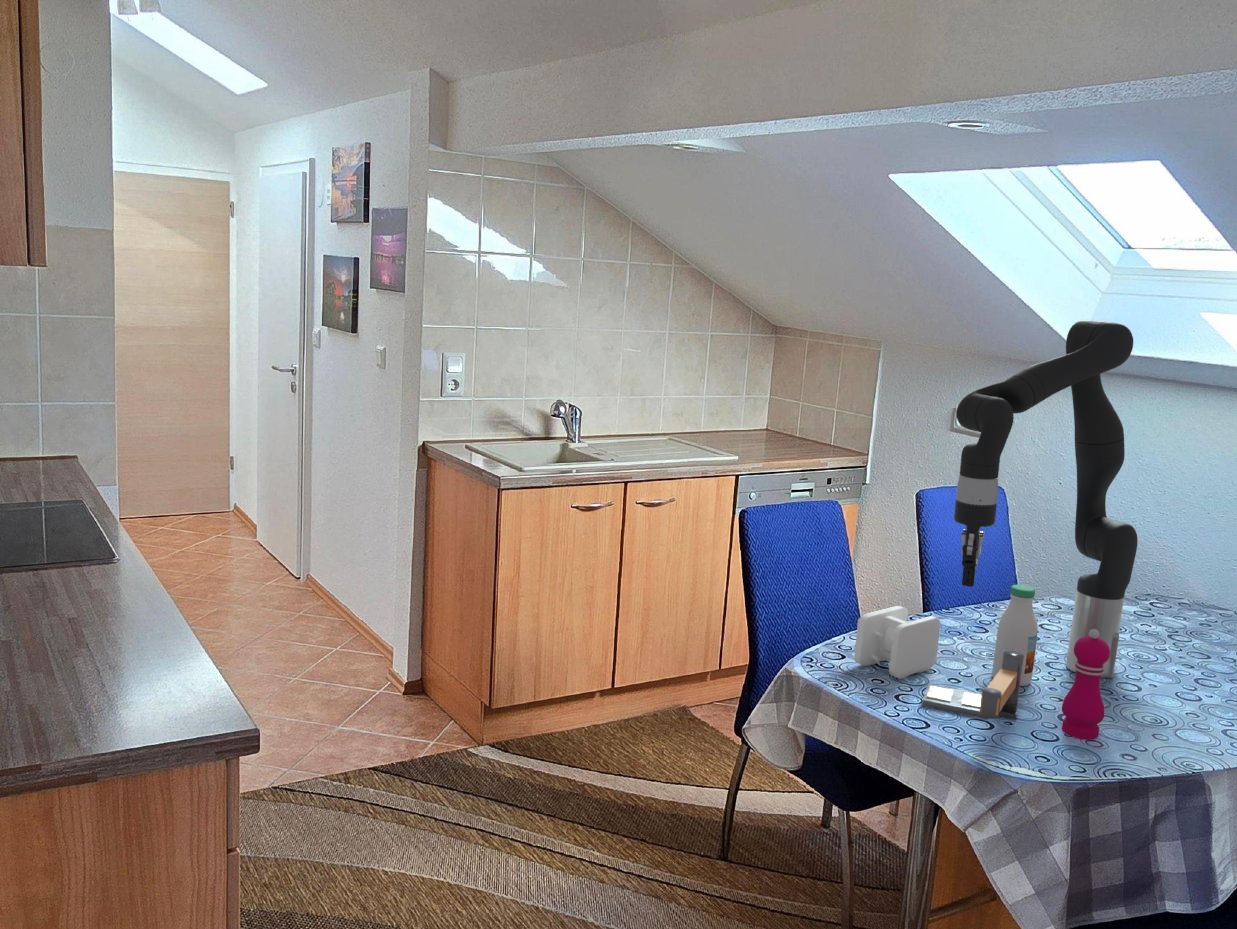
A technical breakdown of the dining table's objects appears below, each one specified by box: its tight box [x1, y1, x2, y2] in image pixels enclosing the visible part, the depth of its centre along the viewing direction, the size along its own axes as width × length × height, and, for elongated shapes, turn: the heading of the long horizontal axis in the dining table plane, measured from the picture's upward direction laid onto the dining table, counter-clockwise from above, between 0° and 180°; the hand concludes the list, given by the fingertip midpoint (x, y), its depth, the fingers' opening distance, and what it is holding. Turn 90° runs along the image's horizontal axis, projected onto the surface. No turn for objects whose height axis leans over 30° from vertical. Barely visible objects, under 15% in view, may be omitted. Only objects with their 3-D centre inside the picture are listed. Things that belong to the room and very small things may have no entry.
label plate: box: [921, 683, 989, 720], centre depth 203 cm, size 12×9×2 cm
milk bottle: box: [991, 584, 1039, 687], centre depth 215 cm, size 8×8×20 cm
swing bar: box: [980, 669, 1017, 720], centre depth 189 cm, size 16×3×4 cm, turn 148°
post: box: [999, 651, 1024, 721], centre depth 199 cm, size 4×4×12 cm
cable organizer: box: [853, 605, 941, 680], centre depth 219 cm, size 15×11×12 cm
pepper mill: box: [1061, 629, 1110, 741], centre depth 191 cm, size 7×7×20 cm
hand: (967, 585), depth 204 cm, fingers closed
